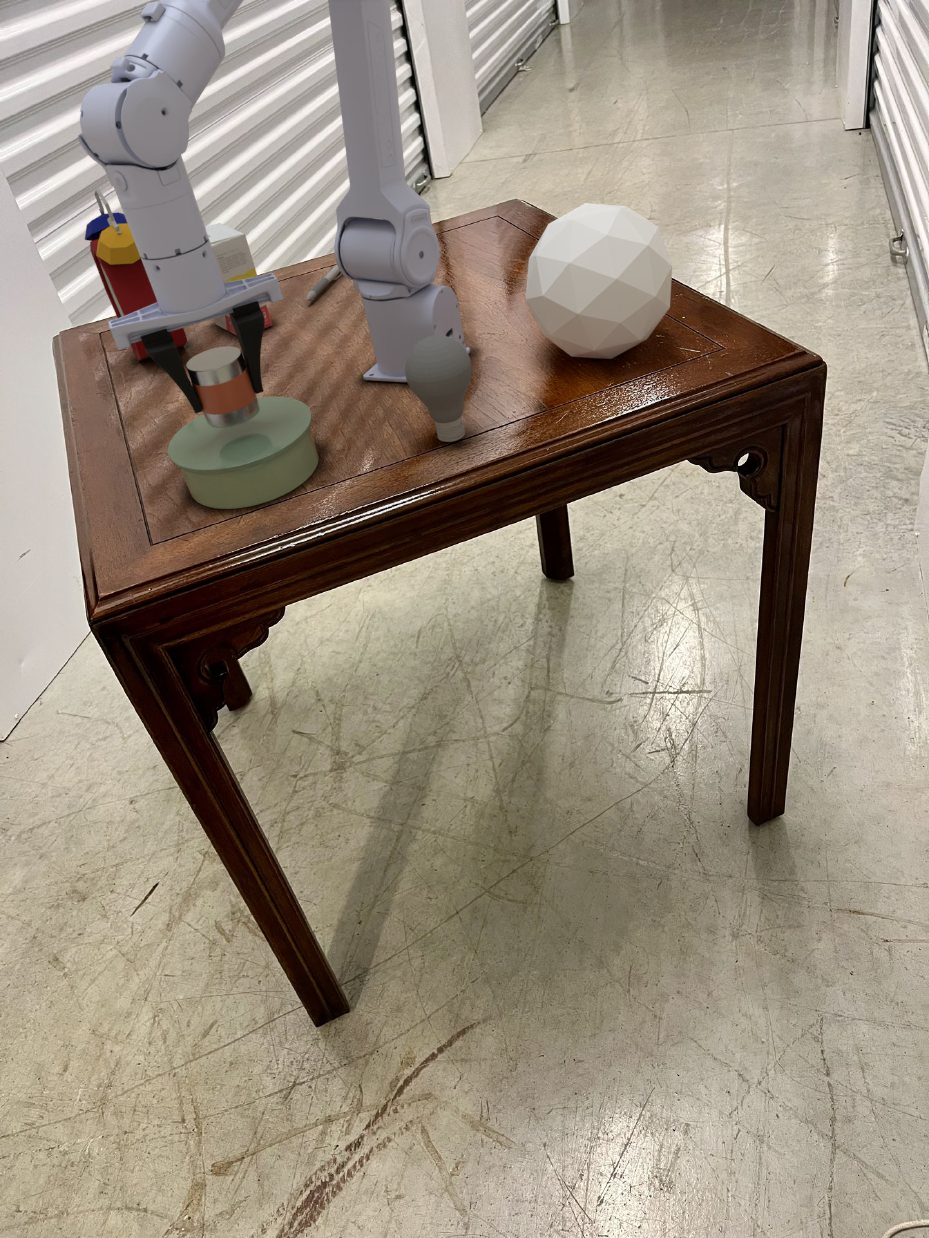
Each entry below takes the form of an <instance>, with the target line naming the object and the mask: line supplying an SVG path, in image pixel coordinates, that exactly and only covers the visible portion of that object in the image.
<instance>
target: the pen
mask: <svg viewBox="0 0 929 1238" xmlns="http://www.w3.org/2000/svg"><path fill="white" fill-rule="evenodd" d="M342 275H343V274H342V273H341V271H340V269H339V268H338V265H337V264H335V265H334V266H333V267H332V269H331V270H329V272H328V273H327V274H325V276H324V277H322V278H321V280H320V281H318V282H317V283H316V285H314V286H313V287H312V289H310V291H309V292H308V293H307V295H306V301H307V302H310V301H312V300H314V299H315V298H317V296H318V295H319V294H321V293H322V291H323V290H324V289H325V288H326V287H327V286H328V285H329V283H330V282H331V281H335V280H337V279H339V278H340V277H341V276H342Z"/></svg>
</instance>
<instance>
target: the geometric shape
mask: <svg viewBox="0 0 929 1238" xmlns="http://www.w3.org/2000/svg"><path fill="white" fill-rule="evenodd" d="M527 263H528V265H527V276H526V289H525V298H524V299H525V301H526V304H527V305H528V308H529V309H530V312H531V314H532V316H533V318H534V320H535V322H536V324H537V326H538V328H539V330H540V332H541V334H542V335H543V336H544V337H545V338H546V339H548V340H549V341H550V342H551V343H553V344H554V345H555V346H557V347H558V348H559V349H561V350H562V351H563V352H564V353H566V354H567V355H569V356H570V357H571V358H589V359H604V360H612V359H614V358H615V357H617V356H619V355H622V354H623V353H625V352H627V351H628V350H630V349H632V348H634V347H635V346H637V345H639V344H641V343H643V342H645V341H647V340H648V338H649V337H650V336H651V334H652V333H653V332H654V331H655V329H656V328H657V326H658V325H659V324H660V322H661V321H662V320H663V318H664V317H665V315H666V314H667V312H668V311H669V310H670V308H671V296H672V278H673V265H672V261H671V258H670V256H669V253H668V250H667V248H666V245H665V241H664V239H663V236H662V233H661V230H660V227H659V226H657V225H656V224H654V223H653V222H651V221H650V220H648V219H647V218H645V217H644V216H642V215H641V214H639V213H638V212H637V211H635V210H633V209H632V208H630V207H629V206H628V205H619V204H618V205H617V204H605V203H591V202H584V203H583V204H581V205H579V206H577V207H576V208H573V209H572V210H570V211H568V212H567V213H565V214H564V215H562V216H560V217H558V218H557V219H554V220H553V221H551V222H549V223H547V226H546V227H545V230H544V231H543V233H542V235H541V236H540V238H539V240H538V242H537V243H536V245H535V247H534V249H533V250H532V252H531V254H530V256H529V257H528V262H527Z"/></svg>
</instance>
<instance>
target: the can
mask: <svg viewBox="0 0 929 1238" xmlns="http://www.w3.org/2000/svg"><path fill="white" fill-rule="evenodd" d="M185 367H186V371H187V375H188V377H189V380H190V382H191V384H192V386H193V388H194V391H195V393H196V395H197V398H198V400H199V402H200V405H201V407H202V410H203V411H202V413H203V414H204V416H205V419H206V421H207V423H208V425H210V426H212V427H215V428H226V427H232V426H236V425H239V424H242V423H244V422H246V421H248V420H250V419H252V418H253V417H254V416H256V415H257V414H258V412H259V410H260V406H259V403H258V400H257V397H258V396H257V394H256V392H255V390H254V387H253V384H252V380H251V377H250V374H249V371H248V368H247V365H246V364H245V361H244V357H243V353H242V349H241V348H239V347H237V346H231V345H229V346H219V347H215V348H210V349H207V350H204V351H202V352H200V353H198V354H196V355H194V356H192V357H191V358H190V359H189V360H188V361H187V362H186V363H185Z"/></svg>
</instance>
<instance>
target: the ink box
mask: <svg viewBox="0 0 929 1238" xmlns="http://www.w3.org/2000/svg"><path fill="white" fill-rule="evenodd" d="M205 229H206V232H207V235H208V238H209V241H210V244H211V247H212V250H213V253H214V256H215V259H216V262H217V265H218V268H219V271H220V274H221V277H222V280H223V283H225V282H230V281H236V280H241V279H246V278H252V277H257V276H258V273H257V270H256V266H255V262H254V260H253V257H252V252H251V249H250V246H249V243H248V239H247V235H246V233H245V232H241V231H239V230H237V229H235V228H232V227H230V226H228V225H226V224H223V223H221V222H217V223H214V224H210V225H208V226H207V225H206V226H205ZM259 306H260V309H261V311H262V312H263V314H264V319H265V323H264V329H267V328H269V327H272V326H273V322H272V320H271V316H270V313H269V309H268V306H267V302H266V303H263V304H259ZM212 320H213V321H214V324H215V326H217V327H219V328H222V329H223V330H225V331H227V332H229V333H230V334H233V335H234V336H236V337H237V335H236V332H235V329H234V327H233V324H232V321H231V318H230V316H229V314H226V315H223V316H220V317H217V318H213V319H212Z"/></svg>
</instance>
